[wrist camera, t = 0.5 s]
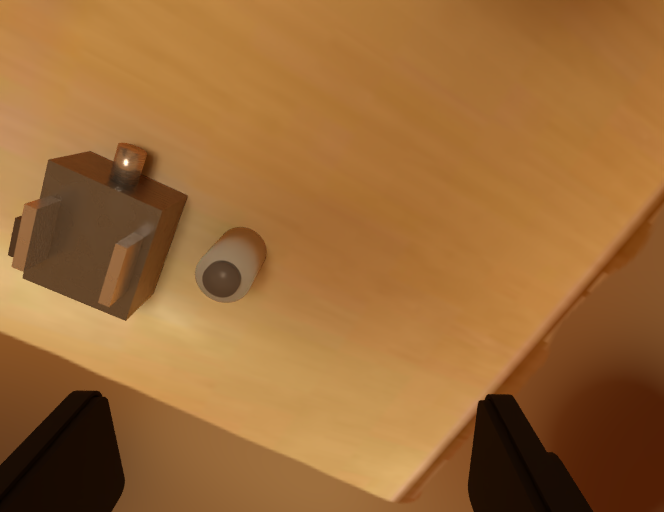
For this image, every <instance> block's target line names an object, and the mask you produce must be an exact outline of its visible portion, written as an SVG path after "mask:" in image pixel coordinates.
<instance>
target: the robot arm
mask: <svg viewBox="0 0 664 512" xmlns="http://www.w3.org/2000/svg"><path fill="white" fill-rule="evenodd" d="M124 484H125V478H124V473H123V468H122V464H121V459H120V454H119V449H118V445H117V440H116V435H115V431H114V426H113V421H112V417H111V412H110V407H109V402H108V399H107V398H106V397H102V394H101V393H100V392H99V391H73V392H72V393H70V394H69V395H68V396H67V397H66V398H65V399H64V400H63V401H62V402H61V403H60V405H58V406H57V407H56V408H55V410H54V411H53V412H52V413H51V414H50V415H49V416H48V417H47V418H46V419H45V420H44V421H43V422H42V423H41V424H40V425H39V426H38V427H37V428H36V429H35V430H34V431H33V432H32V433H31V434H30V435H29V436H28V437H27V438H26V439H25V441H23V442H22V444H21V445H19V447H18V448H17V449H16V450H15V451H14V452H13V453H12V454H11V455H10V456H9V457H8V458H7V459H6V460H5V461H4V462H3V463H2V464H1V465H0V512H111V511H112V510H113V508H114V506H115V505H116V503H117V501H118V500H119V498H120V496H121V494H122V492H123V489H124ZM468 493H469V498H470V502H471V505H472V508H473V511H474V512H593V510H592V509H591V508H590V506H589V504H588V503H587V501H586V499H585V498H584V496H583V495H582V493H581V491H580V490H579V488H578V487H577V485H576V483H575V482H574V481H573V479H572V477H571V476H570V474H569V472H568V471H567V469H566V468H565V466H564V464H563V463H562V461H561V460H560V459H559V457H558V456H557V455H556V454H554V453H553V452H546V450H545V448H544V447H543V445H542V443H541V442H540V440H539V438H538V437H537V435H536V433H535V432H534V430H533V428H532V427H531V425H530V423H529V422H528V420H527V419H526V417H525V415H524V414H523V412H522V410H521V408H520V407H519V405H518V403H517V402H516V400H515V399H514V397H513V396H512V395H506V394H488V395H487V396H486V398H485V400H480V401H479V402H478V407H477V415H476V423H475V431H474V439H473V448H472V455H471V463H470V472H469V480H468Z"/></svg>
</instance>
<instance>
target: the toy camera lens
mask: <svg viewBox="0 0 664 512" xmlns="http://www.w3.org/2000/svg"><path fill="white" fill-rule="evenodd" d="M265 258H266V246H265V243H264V241H263V239H262V238H261V237H260V235H259V234H257V233H256V232H255V231H253V230H251V229H249V228H245V227H236V228H232V229H230V230H228V231H227V232H225V233H224V234H223V236H222V237H221V238H220V239H219V240H218V241H217V242H216V243H215V244H214V245H213V246H212V247H211V248H210V249H209V251H208V252H207V253H206V254H205V255H204V256H203V257H202V258H201V259H200V260H199V262H198V264H197V266H196V270H195V278H196V282H197V284H198V286H199V288H200V289H201V291H202V292H203V293H204V294H205V295H206V296H208V297H209V298H211V299H213V300H215V301H218V302H224V303H229V302H234V301H237V300H239V299H241V298H242V297H244V296H245V295H246V294H247V292H248V291H249V289H250V287H251V285H252V283H253V281H254V279H255V277H256V276H257V274H258V272H259V270H260V268H261V266H262V264H263V262H264V261H265Z"/></svg>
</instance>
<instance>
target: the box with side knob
mask: <svg viewBox="0 0 664 512" xmlns="http://www.w3.org/2000/svg"><path fill="white" fill-rule="evenodd" d="M146 156H147V152H146V151H145V150H143V149H141V148H139V147H137V146H135V145H132V144H128V143H119V144H118V147H117V150H116V154H115V158H114V161H111V160H108V159H106V158H104V157H102V156H100V155H97V154H95V153H93V152H91V151H89V152H84V153H79V154H74V155H69V156H64V157H59V158H55V159H50V160H48V164H47V168H46V173H45V177H44V182H43V186H42V191H41V196H40V199H38V200H35V201H32V202H29V203H26V204H24V209H23V214H22V216H20V217H17V218H15V222H14V227H13V232H12V237H11V242H10V247H9V252H8V255H9V256H11V257H14V258H13V263H12V267H13V268H16V269H18V270H20V271H23V272H24V274H23V279H26V280H28V281H30V282H33V283H35V284H38V285H40V286H43V287H45V288H47V289H50V290H52V291H55V292H57V293H60V294H62V295H64V296H67V297H69V298H72V299H74V300H77V301H79V302H81V303H84V304H86V305H89V306H91V307H93V308H96V309H98V310H101V311H103V312H106V313H108V314H110V315H113V316H115V317H118V318H120V319H123V320H125V321H126V320H127V319H128V318H129V317H130V316H131V315H132V314H133V313H134V312H135V311H136V310H137V309H138V308H139V307H140V306H141V305H142V304H143V303H144V302H145V301H146V300H147V299H148V298H149V297H150V296H151V295H152V294H153V293H154V290H155V288H156V285H157V282H158V279H159V276H160V273H161V270H162V268H163V265H164V262H165V259H166V256H167V253H168V250H169V248H170V245H171V242H172V239H173V236H174V233H175V230H176V228H177V225H178V222H179V219H180V216H181V213H182V211H183V208H184V205H185V202H186V199H187V195H185V194H183V193H181V192H179V191H176V190H174V189H172V188H170V187H168V186H165V185H163V184H161V183H159V182H157V181H154V180H152V179H150V178H148V177H146V176H143V175H141V172H142V169H143V166H144V163H145V159H146Z"/></svg>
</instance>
